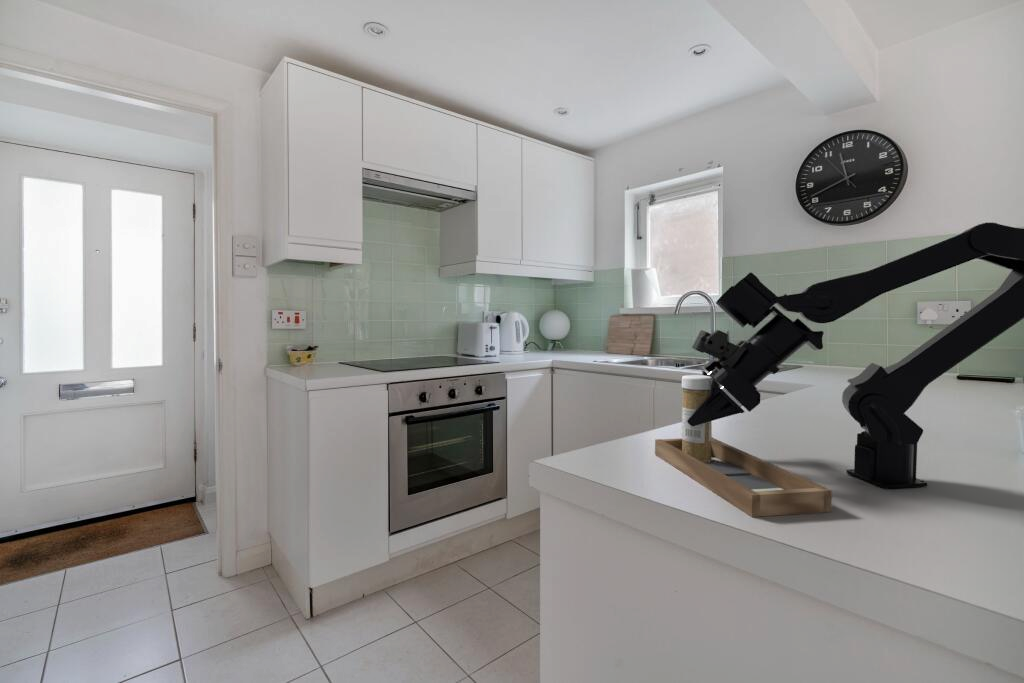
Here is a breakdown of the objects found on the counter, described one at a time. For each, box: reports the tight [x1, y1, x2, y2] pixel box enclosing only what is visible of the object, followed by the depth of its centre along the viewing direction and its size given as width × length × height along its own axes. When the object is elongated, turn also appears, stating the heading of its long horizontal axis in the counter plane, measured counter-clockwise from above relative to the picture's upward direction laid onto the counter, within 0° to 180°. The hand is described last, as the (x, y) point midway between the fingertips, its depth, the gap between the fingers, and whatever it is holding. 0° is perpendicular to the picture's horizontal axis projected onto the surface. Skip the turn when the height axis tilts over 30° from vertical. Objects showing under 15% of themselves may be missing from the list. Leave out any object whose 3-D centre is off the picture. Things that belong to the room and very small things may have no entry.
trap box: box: [654, 437, 833, 518], centre depth 66 cm, size 10×25×2 cm, turn 8°
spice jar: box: [681, 374, 713, 464], centre depth 74 cm, size 5×5×14 cm
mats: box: [705, 462, 779, 490], centre depth 66 cm, size 8×11×1 cm
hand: (687, 417), depth 75 cm, fingers open, 9 cm apart
